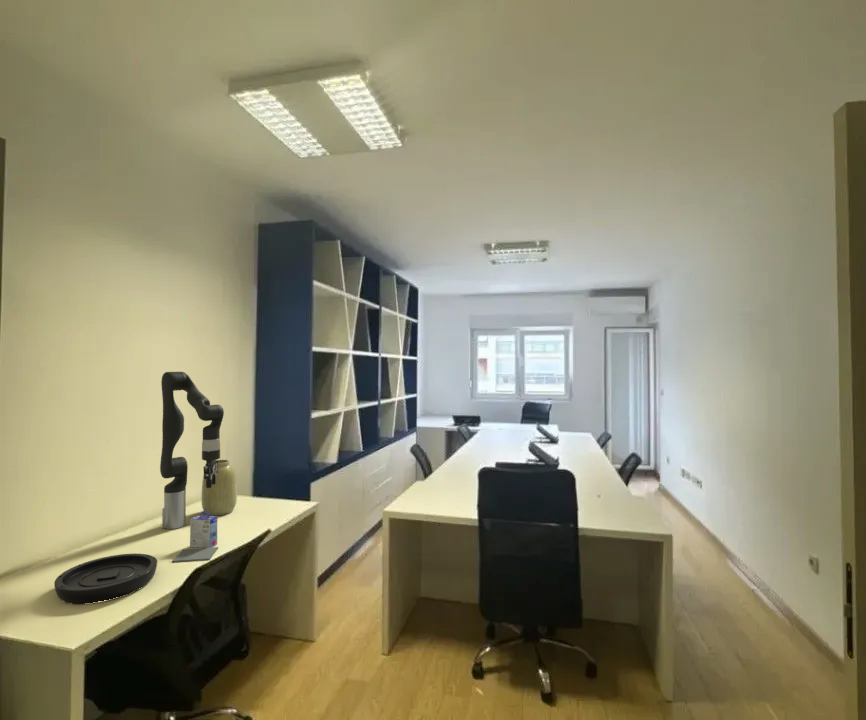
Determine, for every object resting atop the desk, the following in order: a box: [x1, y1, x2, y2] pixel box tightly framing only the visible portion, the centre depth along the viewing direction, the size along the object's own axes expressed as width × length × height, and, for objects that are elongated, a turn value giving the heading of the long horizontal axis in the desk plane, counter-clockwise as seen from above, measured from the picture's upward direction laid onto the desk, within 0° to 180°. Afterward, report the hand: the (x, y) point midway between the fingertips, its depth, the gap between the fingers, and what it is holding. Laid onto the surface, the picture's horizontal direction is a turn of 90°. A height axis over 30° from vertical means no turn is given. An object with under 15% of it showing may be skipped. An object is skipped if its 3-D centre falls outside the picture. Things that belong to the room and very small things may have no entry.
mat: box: [171, 546, 219, 563], centre depth 193 cm, size 14×12×1 cm
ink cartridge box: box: [189, 510, 218, 548], centre depth 204 cm, size 10×6×14 cm, turn 80°
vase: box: [201, 459, 238, 517], centre depth 250 cm, size 17×17×27 cm
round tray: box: [53, 553, 158, 605], centre depth 167 cm, size 30×6×30 cm
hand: (211, 485), depth 213 cm, fingers open, 5 cm apart
